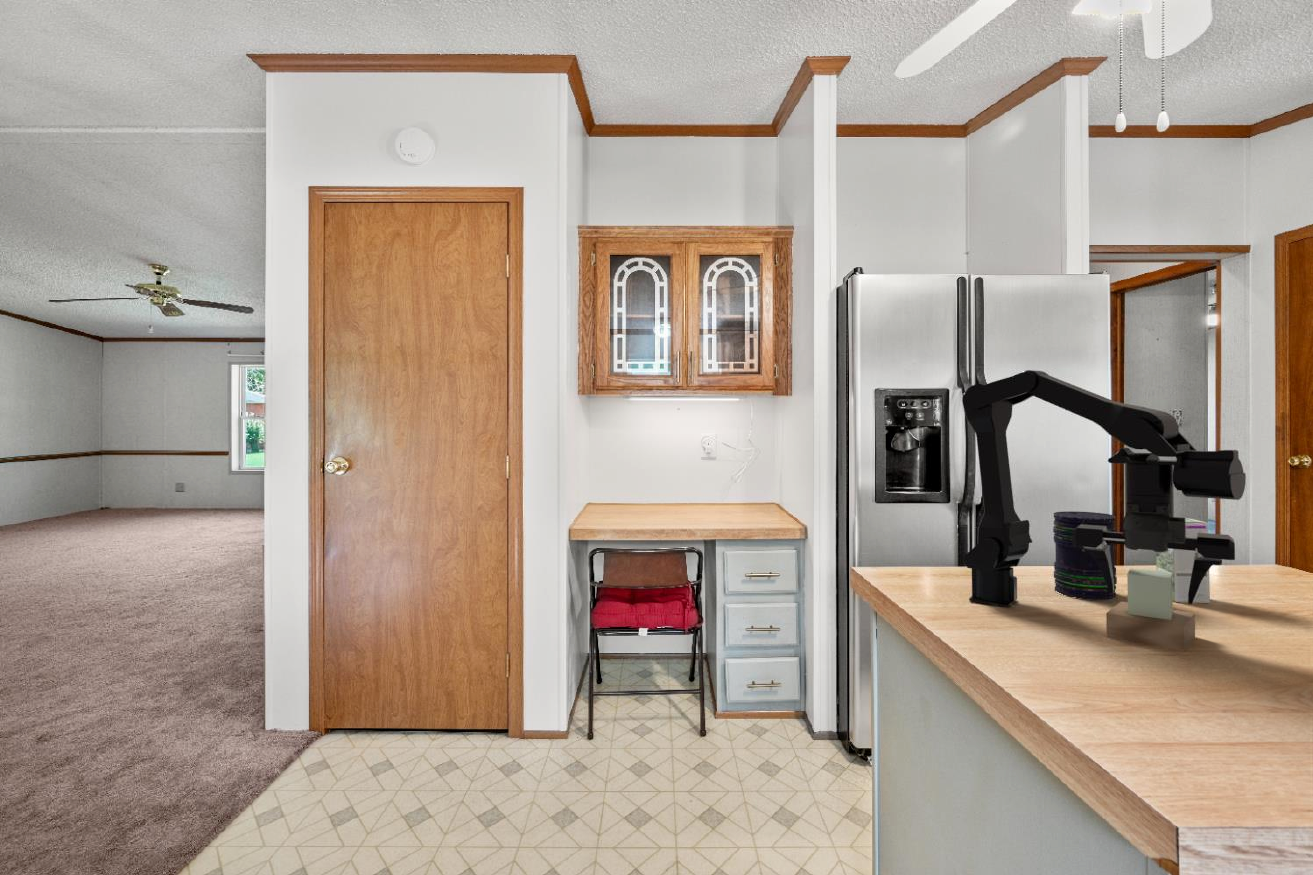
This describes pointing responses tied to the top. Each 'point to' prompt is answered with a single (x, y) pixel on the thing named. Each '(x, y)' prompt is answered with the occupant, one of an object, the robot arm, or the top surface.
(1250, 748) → the top surface
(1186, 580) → the syrup box
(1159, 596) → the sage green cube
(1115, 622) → the block
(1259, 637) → the top surface
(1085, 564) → the storage jar
